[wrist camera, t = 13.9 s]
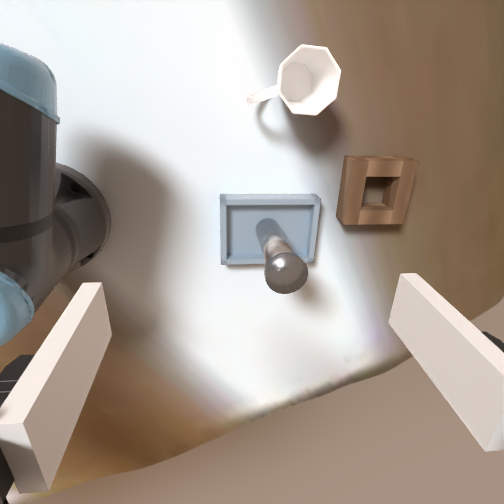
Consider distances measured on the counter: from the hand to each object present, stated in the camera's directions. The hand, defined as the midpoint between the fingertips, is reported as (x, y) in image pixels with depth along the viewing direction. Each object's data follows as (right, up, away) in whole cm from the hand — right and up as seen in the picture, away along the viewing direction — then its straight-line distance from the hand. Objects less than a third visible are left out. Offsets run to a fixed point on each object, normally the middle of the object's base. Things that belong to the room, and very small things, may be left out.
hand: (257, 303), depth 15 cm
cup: (+4, +23, +28) cm, 37 cm away
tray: (+2, +6, +36) cm, 37 cm away
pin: (+2, +6, +35) cm, 36 cm away
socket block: (+17, +12, +35) cm, 41 cm away
